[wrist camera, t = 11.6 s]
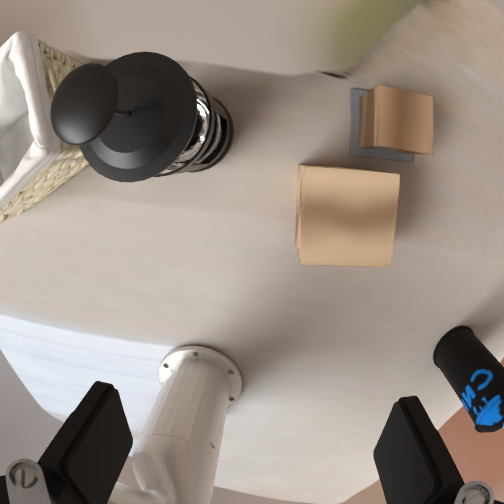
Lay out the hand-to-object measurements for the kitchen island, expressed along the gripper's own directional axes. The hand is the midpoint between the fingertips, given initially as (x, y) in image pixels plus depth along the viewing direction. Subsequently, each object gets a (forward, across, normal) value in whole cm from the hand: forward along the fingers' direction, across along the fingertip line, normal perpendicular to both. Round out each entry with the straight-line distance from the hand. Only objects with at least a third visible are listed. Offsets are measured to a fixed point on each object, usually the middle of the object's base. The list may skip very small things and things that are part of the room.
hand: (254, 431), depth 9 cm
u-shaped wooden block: (+28, -13, -14) cm, 34 cm away
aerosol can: (+29, -31, +16) cm, 46 cm away
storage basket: (+29, +32, -13) cm, 45 cm away
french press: (+29, +9, -12) cm, 32 cm away
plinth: (+28, -8, -4) cm, 30 cm away
